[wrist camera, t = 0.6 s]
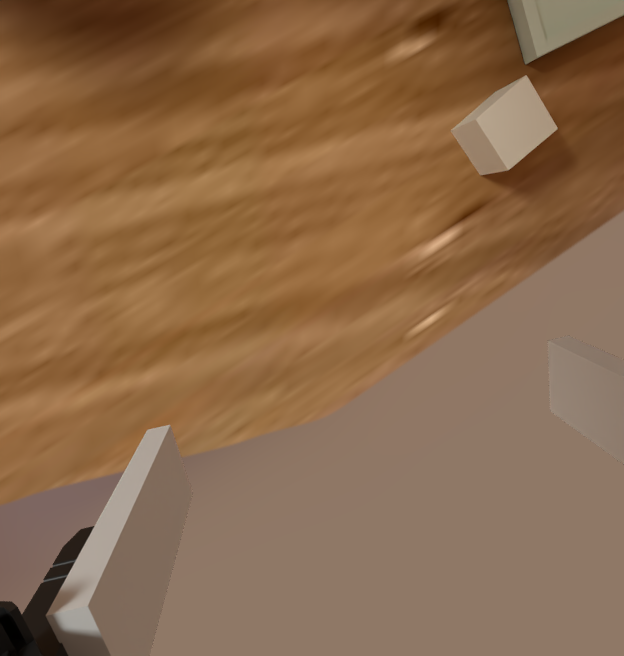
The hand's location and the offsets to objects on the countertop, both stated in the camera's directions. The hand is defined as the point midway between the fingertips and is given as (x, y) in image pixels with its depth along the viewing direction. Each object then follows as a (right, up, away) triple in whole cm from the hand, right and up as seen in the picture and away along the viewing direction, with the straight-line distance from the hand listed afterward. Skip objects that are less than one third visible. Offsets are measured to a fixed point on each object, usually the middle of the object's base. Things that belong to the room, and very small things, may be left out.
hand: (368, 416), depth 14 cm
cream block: (+14, +21, +24) cm, 35 cm away
